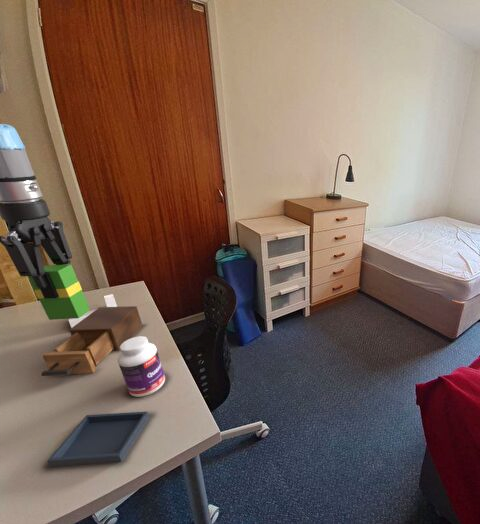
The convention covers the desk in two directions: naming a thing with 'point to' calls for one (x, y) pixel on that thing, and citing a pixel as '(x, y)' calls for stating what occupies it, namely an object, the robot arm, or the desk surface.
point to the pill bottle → (140, 366)
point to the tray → (100, 439)
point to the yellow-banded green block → (63, 294)
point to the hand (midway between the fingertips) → (59, 292)
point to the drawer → (79, 353)
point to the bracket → (110, 303)
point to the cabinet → (112, 323)
